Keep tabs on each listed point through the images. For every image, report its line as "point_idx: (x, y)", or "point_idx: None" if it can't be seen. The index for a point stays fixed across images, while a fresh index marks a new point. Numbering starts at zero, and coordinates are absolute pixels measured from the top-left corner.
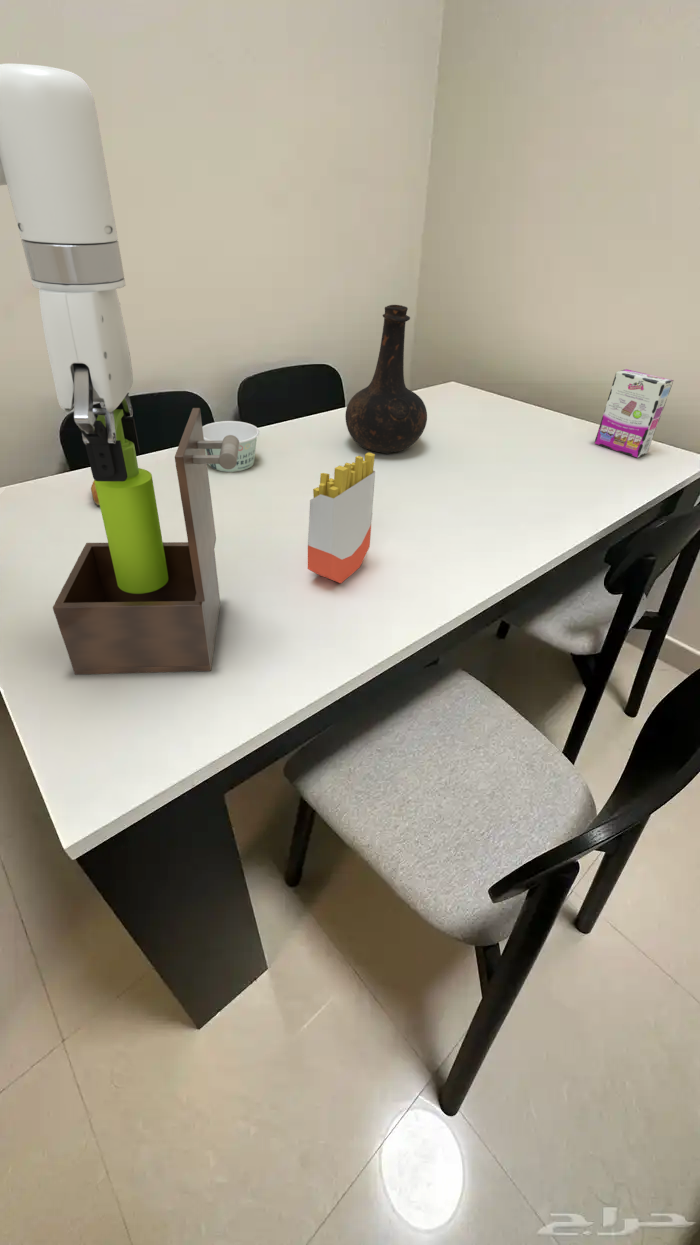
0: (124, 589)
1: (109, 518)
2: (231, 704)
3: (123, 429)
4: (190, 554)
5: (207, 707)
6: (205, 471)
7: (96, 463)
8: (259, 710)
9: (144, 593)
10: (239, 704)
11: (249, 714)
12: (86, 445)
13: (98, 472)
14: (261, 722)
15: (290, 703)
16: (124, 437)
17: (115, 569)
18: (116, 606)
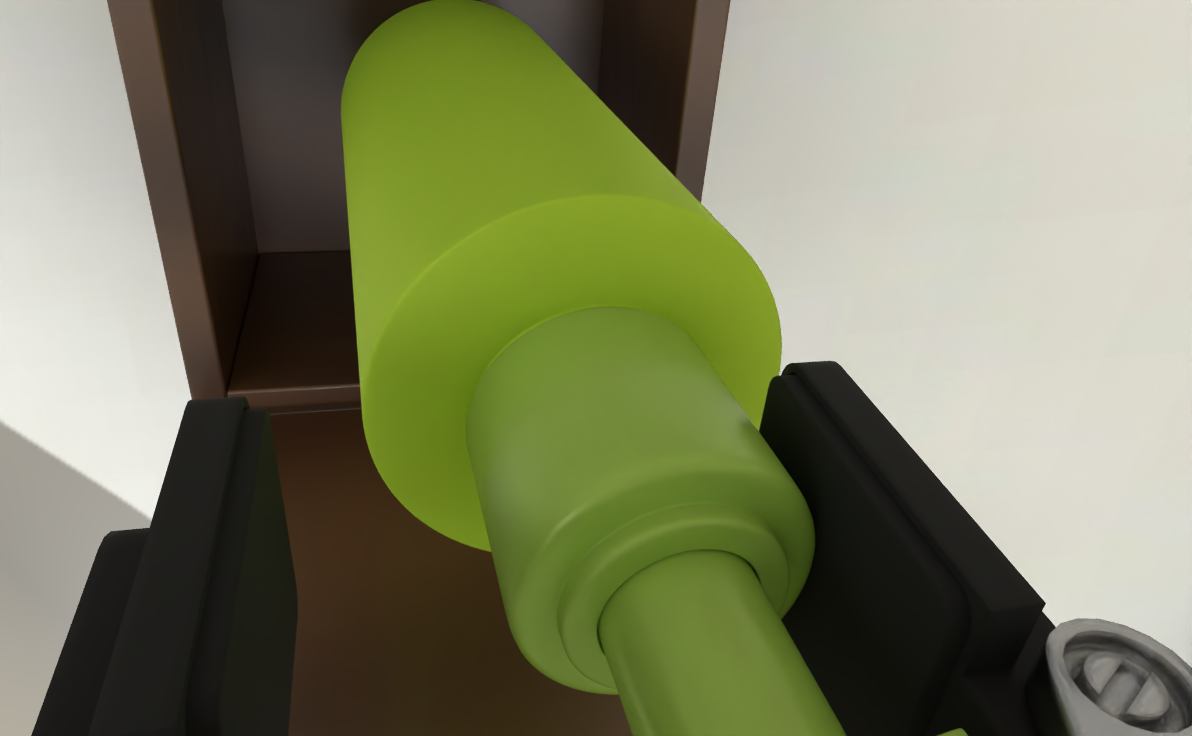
0: (357, 56)
1: (378, 196)
2: (88, 339)
3: (845, 683)
4: None
5: (59, 275)
6: None
7: (79, 618)
8: (77, 411)
9: (616, 10)
10: (92, 359)
11: (53, 388)
12: (98, 705)
13: (110, 537)
14: (26, 420)
15: (123, 479)
16: (816, 609)
17: (390, 46)
18: (125, 80)
